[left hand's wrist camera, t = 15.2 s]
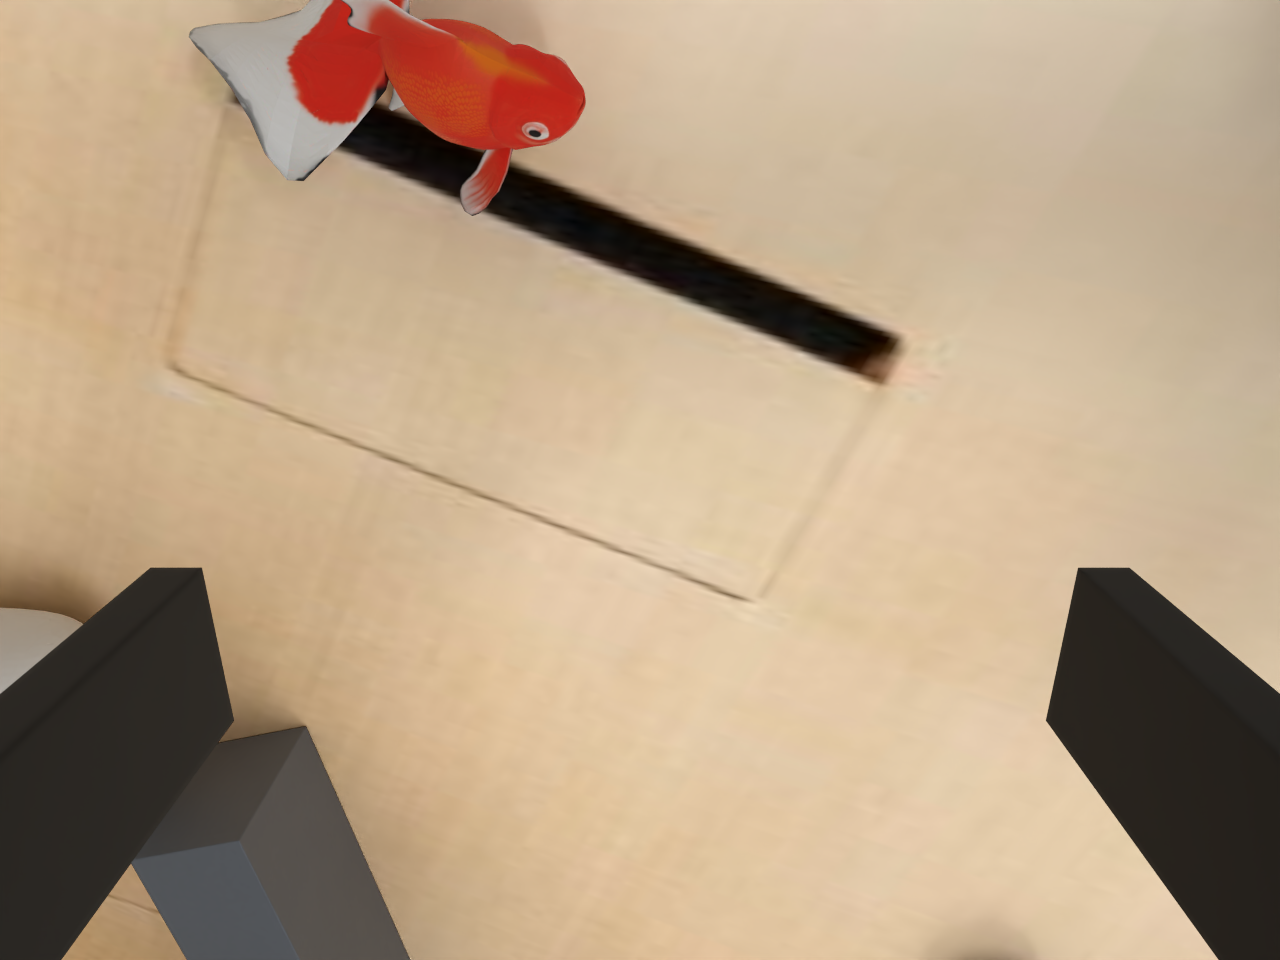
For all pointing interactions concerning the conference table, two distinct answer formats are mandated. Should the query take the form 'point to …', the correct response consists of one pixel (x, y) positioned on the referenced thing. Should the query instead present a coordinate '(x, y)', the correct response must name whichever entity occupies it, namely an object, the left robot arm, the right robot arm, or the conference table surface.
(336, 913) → the bar
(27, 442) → the conference table surface
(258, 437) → the conference table surface
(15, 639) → the projector
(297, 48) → the fish
